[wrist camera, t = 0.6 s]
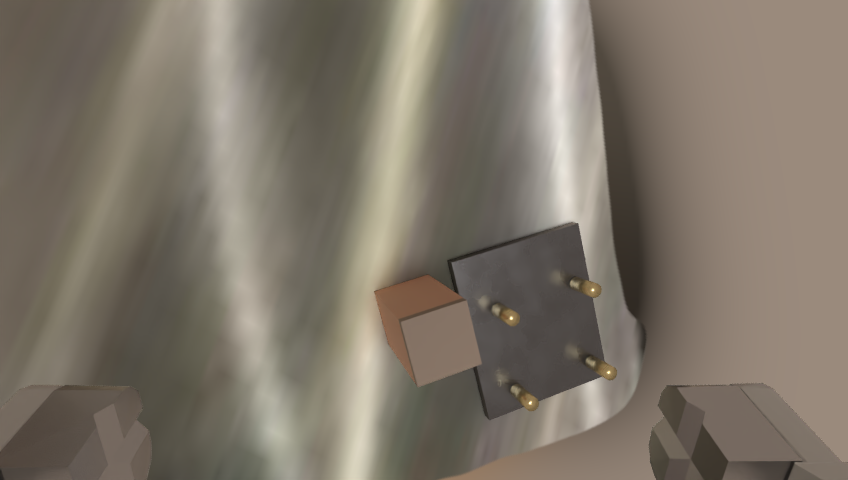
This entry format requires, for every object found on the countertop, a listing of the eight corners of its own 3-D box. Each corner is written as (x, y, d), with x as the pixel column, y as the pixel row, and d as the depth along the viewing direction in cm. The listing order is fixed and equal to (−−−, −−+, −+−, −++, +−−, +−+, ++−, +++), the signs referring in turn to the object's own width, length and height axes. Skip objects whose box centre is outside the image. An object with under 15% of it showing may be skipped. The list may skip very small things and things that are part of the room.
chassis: (447, 260, 54) (463, 269, 49) (571, 222, 57) (597, 226, 52) (485, 415, 57) (503, 436, 52) (600, 370, 60) (627, 386, 55)
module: (374, 291, 52) (400, 322, 41) (428, 274, 53) (466, 300, 43) (388, 344, 53) (417, 387, 42) (441, 326, 54) (482, 363, 44)
